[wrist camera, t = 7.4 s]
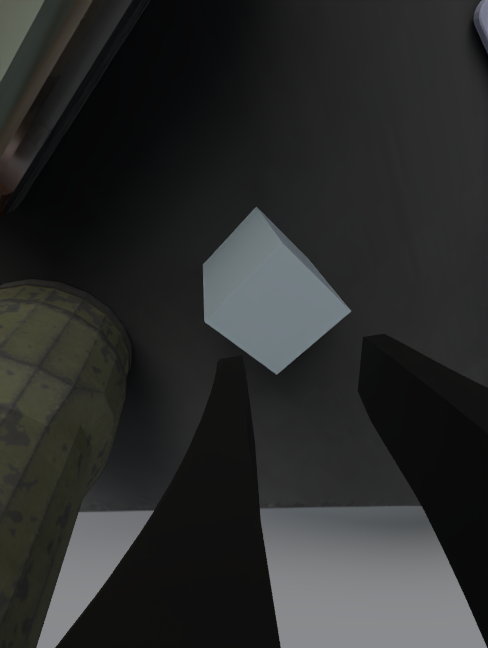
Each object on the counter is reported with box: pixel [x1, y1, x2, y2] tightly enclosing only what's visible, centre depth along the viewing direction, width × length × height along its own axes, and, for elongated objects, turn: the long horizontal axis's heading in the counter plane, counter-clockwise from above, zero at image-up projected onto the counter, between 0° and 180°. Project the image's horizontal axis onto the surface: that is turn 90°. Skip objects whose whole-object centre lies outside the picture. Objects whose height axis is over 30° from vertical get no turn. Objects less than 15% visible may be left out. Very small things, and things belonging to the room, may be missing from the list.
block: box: [203, 207, 351, 374], centre depth 15 cm, size 4×4×6 cm
